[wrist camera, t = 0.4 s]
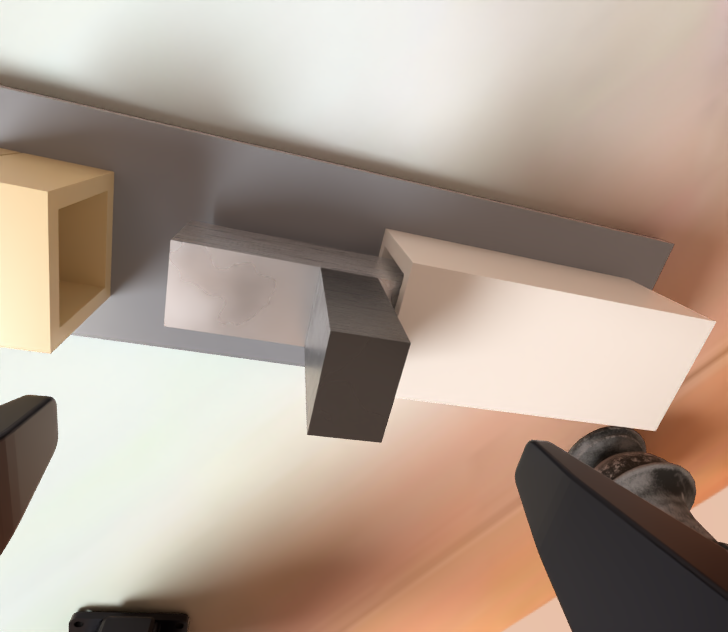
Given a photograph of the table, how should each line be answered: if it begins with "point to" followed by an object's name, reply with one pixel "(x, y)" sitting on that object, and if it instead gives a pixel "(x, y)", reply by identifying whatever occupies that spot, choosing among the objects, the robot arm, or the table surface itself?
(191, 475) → the table surface
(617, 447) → the dark grey statuette
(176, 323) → the steel t-shaped block
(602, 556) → the robot arm
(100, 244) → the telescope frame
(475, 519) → the table surface
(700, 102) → the table surface
